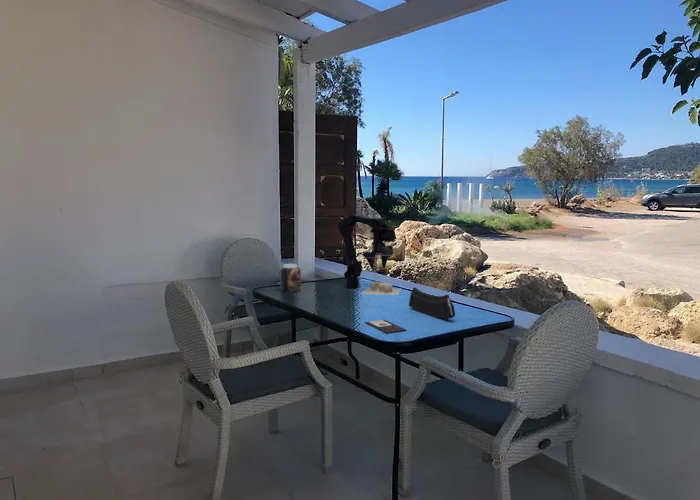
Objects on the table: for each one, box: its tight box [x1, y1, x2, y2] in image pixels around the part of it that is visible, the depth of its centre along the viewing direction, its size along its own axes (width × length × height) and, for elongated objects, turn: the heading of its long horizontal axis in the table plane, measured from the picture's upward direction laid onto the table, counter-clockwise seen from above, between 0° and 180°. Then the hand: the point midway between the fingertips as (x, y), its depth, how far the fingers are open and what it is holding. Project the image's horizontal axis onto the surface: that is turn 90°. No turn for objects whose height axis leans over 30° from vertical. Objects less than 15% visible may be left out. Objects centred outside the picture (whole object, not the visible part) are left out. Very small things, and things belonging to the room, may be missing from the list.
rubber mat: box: [361, 287, 402, 296], centre depth 273 cm, size 20×19×1 cm
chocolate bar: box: [365, 319, 407, 335], centre depth 200 cm, size 9×1×18 cm
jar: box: [279, 263, 302, 291], centre depth 280 cm, size 12×12×15 cm
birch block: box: [370, 280, 393, 293], centre depth 273 cm, size 4×4×12 cm
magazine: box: [408, 287, 456, 322], centre depth 220 cm, size 17×3×30 cm
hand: (378, 268), depth 274 cm, fingers open, 9 cm apart
